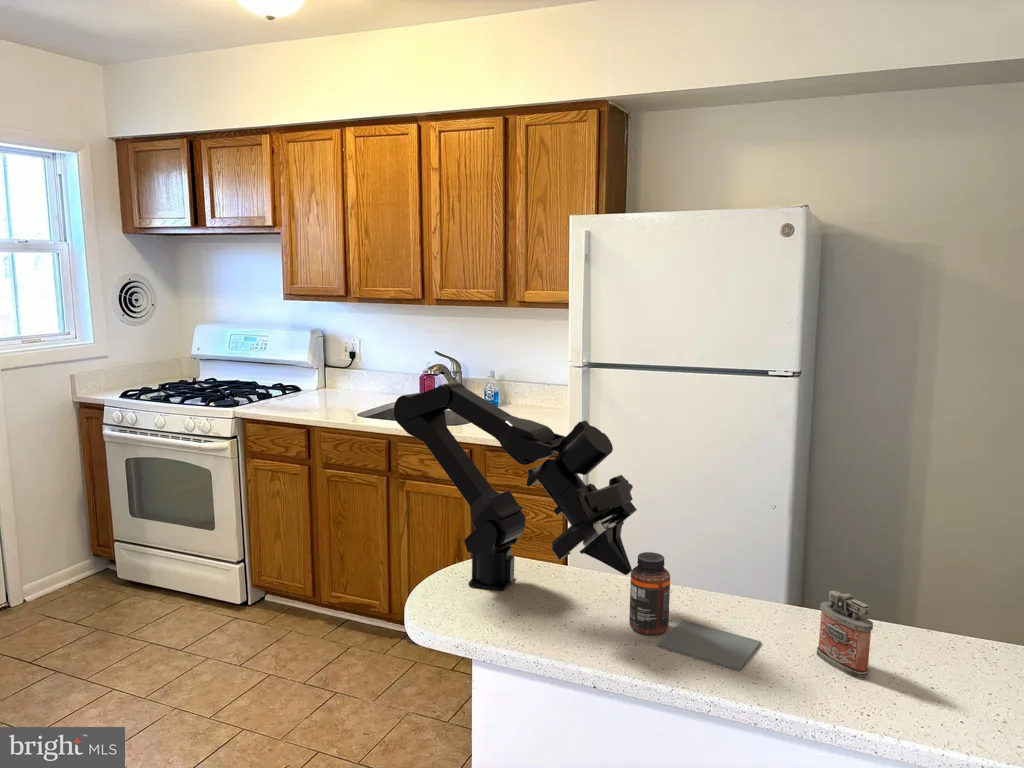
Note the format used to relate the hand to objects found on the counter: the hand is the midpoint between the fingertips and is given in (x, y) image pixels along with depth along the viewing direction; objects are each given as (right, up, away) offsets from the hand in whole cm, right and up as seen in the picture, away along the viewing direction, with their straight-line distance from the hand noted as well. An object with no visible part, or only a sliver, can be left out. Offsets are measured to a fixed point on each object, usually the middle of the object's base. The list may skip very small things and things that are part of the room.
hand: (629, 573), depth 116 cm
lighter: (+28, -10, -11) cm, 32 cm away
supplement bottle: (+3, -8, -1) cm, 9 cm away
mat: (+11, -9, -6) cm, 15 cm away
